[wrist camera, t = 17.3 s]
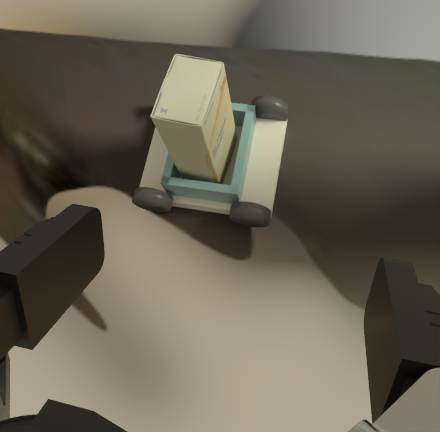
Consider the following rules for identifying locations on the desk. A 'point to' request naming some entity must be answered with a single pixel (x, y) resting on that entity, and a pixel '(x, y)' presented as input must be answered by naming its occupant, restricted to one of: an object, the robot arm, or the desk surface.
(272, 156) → the toy car chassis
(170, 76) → the skincare box
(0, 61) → the desk surface
